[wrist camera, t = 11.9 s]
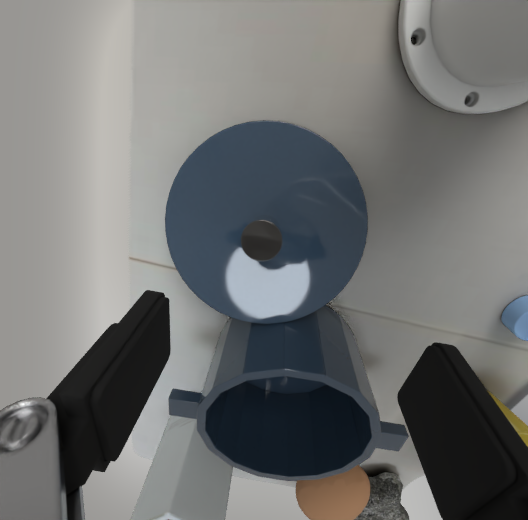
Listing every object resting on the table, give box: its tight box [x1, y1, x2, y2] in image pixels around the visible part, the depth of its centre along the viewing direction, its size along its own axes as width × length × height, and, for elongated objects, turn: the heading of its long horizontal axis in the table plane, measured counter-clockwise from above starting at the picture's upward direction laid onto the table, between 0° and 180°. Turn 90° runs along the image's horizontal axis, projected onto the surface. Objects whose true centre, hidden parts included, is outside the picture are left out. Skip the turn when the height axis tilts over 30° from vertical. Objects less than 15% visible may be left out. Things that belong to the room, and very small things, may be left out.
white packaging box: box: [130, 415, 233, 520], centre depth 33 cm, size 7×7×13 cm
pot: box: [169, 305, 409, 481], centre depth 27 cm, size 16×21×10 cm
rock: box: [354, 472, 409, 520], centre depth 41 cm, size 13×13×10 cm
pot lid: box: [165, 120, 368, 324], centre depth 20 cm, size 17×17×7 cm
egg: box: [296, 465, 370, 520], centre depth 38 cm, size 8×8×11 cm
